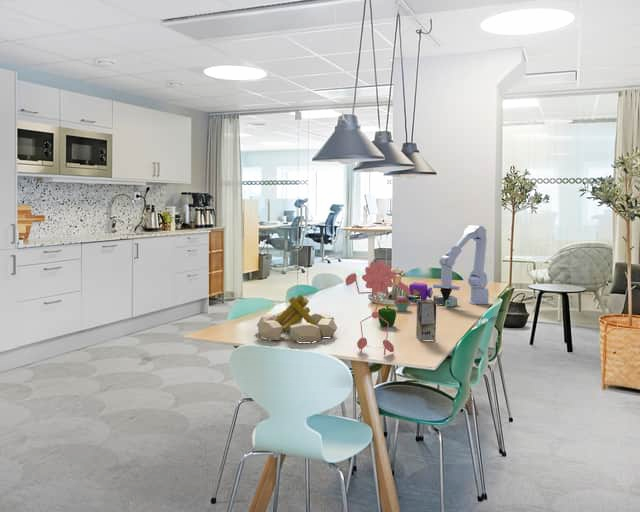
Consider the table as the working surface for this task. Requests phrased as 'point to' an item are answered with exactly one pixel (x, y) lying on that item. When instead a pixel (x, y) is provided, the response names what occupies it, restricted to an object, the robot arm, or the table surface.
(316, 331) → the campfire
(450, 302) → the teal bar
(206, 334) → the table surface
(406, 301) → the cupcake
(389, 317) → the bell pepper
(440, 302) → the camera case
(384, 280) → the figurine
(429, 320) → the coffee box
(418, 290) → the toy camera
